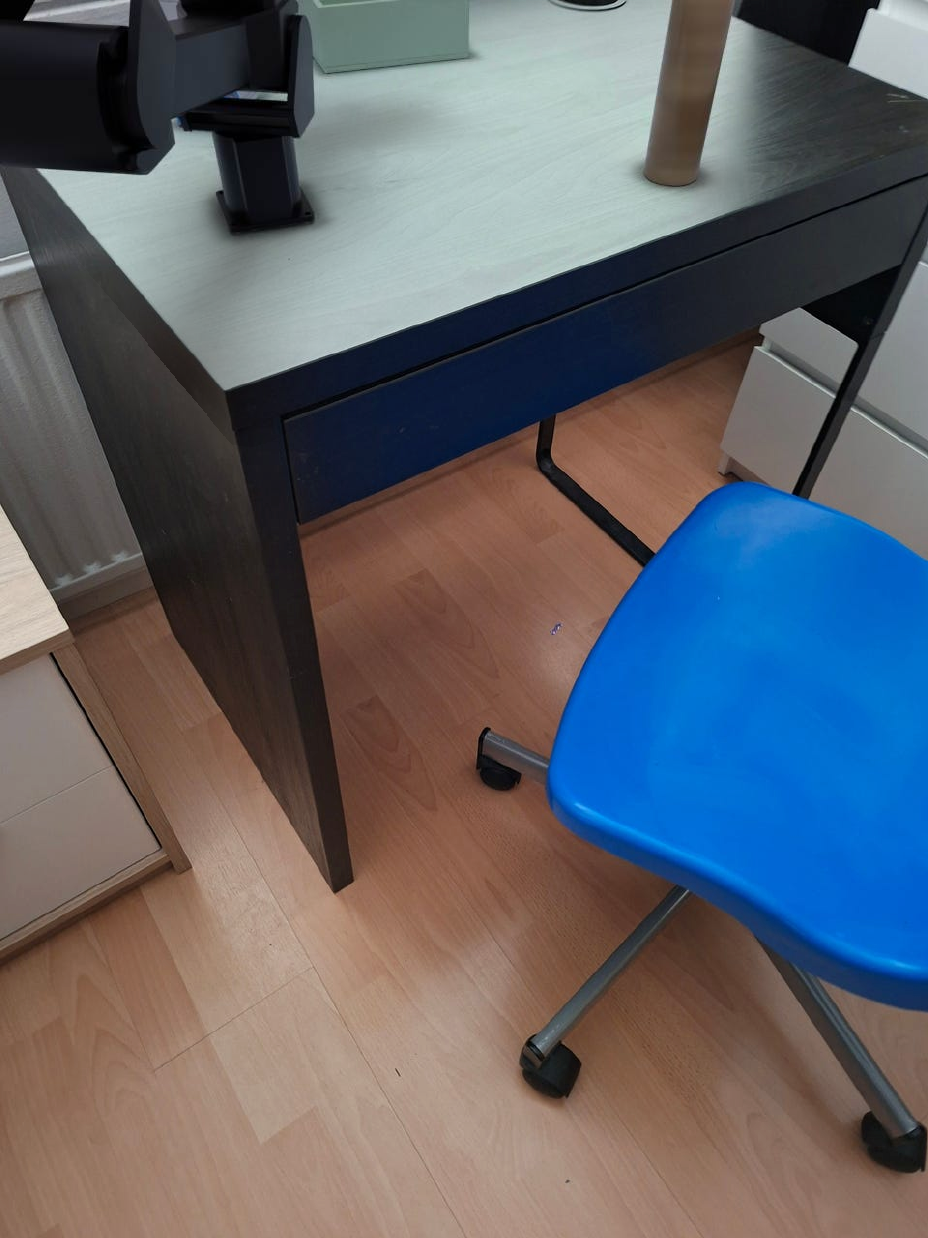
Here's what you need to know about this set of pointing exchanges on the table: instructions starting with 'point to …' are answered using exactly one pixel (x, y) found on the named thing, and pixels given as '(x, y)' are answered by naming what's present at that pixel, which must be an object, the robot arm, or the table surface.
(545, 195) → the table surface
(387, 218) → the table surface
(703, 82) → the pepper mill
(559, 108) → the table surface
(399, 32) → the tub
